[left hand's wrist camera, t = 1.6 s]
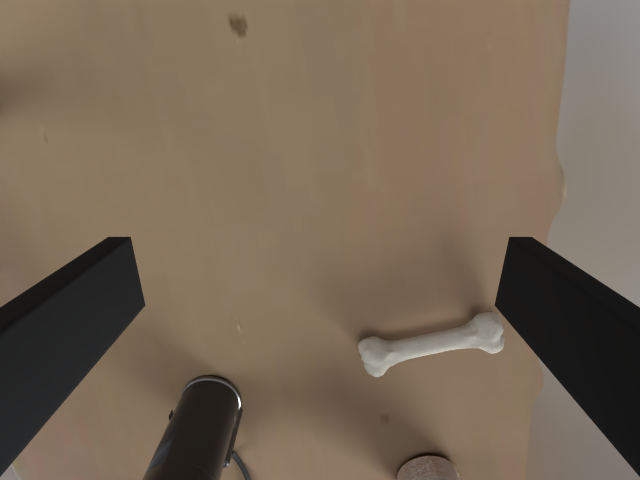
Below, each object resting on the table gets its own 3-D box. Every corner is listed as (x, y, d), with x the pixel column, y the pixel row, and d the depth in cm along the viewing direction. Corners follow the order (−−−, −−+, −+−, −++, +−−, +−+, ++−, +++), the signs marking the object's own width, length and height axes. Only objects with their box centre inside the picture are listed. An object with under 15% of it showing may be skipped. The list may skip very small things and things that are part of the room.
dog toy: (363, 363, 55) (367, 388, 50) (354, 332, 52) (358, 355, 48) (495, 335, 53) (512, 358, 48) (492, 301, 50) (509, 322, 46)
